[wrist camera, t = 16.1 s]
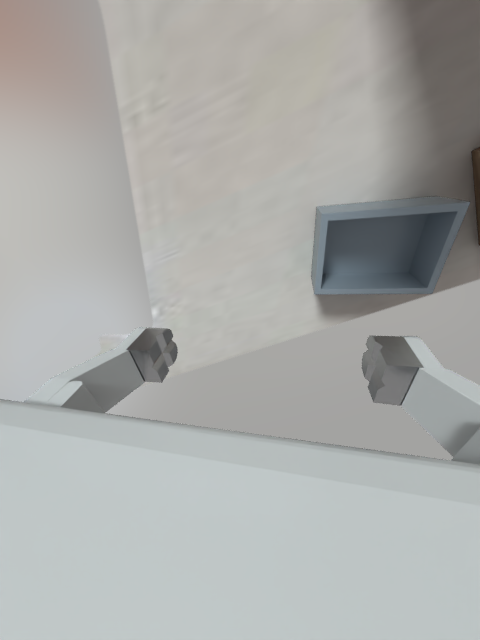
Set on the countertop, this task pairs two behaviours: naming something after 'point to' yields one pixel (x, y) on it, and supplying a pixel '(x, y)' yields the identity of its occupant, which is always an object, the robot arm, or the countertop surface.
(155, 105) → the countertop surface
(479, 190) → the tray
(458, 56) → the countertop surface
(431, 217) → the blue-grey storage bin
